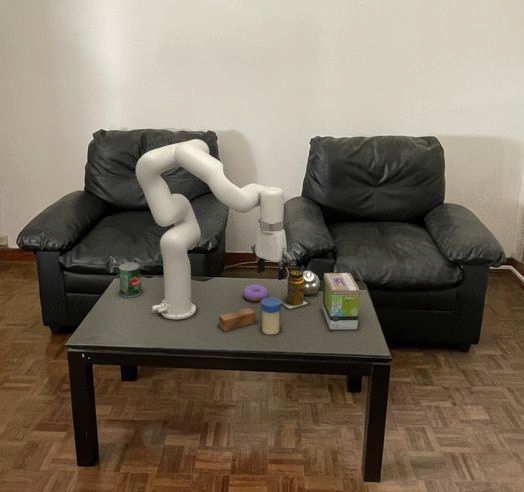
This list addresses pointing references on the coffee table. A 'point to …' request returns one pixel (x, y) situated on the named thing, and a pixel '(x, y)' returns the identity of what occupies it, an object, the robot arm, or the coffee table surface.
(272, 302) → the lid
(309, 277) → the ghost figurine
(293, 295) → the condiment
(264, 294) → the donut
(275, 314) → the jar
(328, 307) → the tea box
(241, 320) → the block
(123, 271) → the canned tomato
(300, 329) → the coffee table surface
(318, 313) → the coffee table surface
